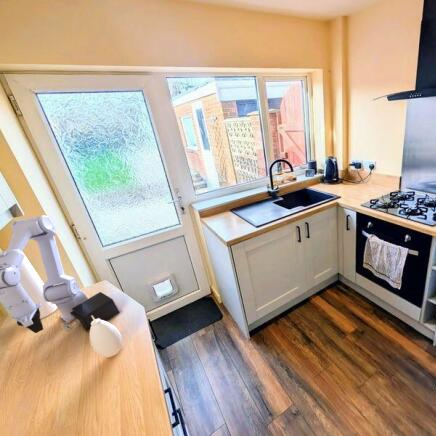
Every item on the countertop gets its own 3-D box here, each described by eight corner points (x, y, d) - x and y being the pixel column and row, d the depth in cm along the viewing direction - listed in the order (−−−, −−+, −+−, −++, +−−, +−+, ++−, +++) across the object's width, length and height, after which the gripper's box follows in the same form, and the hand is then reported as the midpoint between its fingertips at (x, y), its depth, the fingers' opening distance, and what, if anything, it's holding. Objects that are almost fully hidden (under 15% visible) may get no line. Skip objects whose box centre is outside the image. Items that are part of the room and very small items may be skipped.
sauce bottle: (130, 351, 86) (108, 313, 78) (104, 368, 81) (78, 329, 73) (123, 339, 91) (102, 302, 83) (98, 354, 86) (74, 317, 78)
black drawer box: (91, 331, 96) (82, 317, 93) (80, 322, 101) (71, 308, 98) (119, 312, 104) (112, 298, 101) (107, 304, 109) (100, 291, 106)
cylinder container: (26, 323, 104) (-18, 265, 91) (35, 309, 112) (-5, 254, 99) (54, 313, 108) (15, 256, 95) (61, 300, 115) (25, 246, 103)
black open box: (73, 340, 92) (66, 329, 89) (64, 331, 97) (56, 320, 94) (112, 314, 102) (106, 303, 100) (101, 307, 107) (96, 297, 104)
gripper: (35, 303, 79) (56, 333, 85) (32, 285, 88) (51, 313, 94) (4, 317, 74) (28, 347, 80) (4, 297, 84) (26, 325, 89)
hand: (39, 330), depth 87 cm, fingers closed
